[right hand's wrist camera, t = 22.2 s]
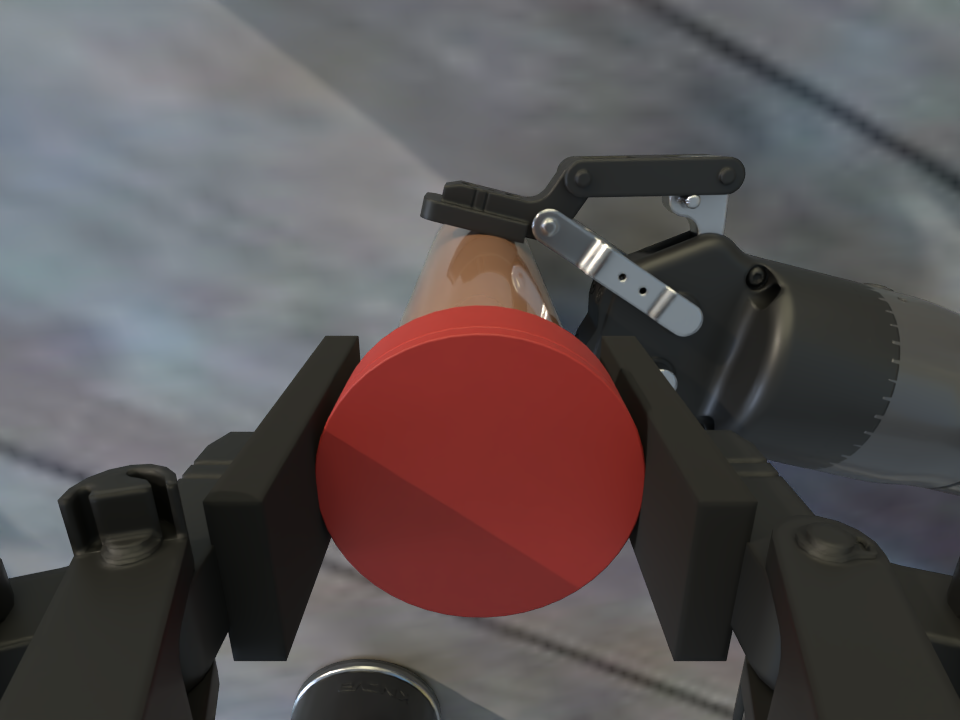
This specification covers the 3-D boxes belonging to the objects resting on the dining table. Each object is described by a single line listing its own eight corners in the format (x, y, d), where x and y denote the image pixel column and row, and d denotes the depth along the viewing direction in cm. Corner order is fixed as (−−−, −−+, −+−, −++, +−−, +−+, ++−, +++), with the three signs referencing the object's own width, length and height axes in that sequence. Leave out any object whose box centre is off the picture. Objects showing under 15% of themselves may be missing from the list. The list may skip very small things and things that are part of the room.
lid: (633, 299, 11) (659, 327, 9) (617, 556, 13) (635, 614, 11) (318, 309, 11) (290, 338, 9) (352, 563, 13) (334, 622, 11)
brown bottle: (545, 230, 28) (652, 397, 11) (507, 320, 29) (545, 593, 12) (451, 192, 27) (399, 304, 10) (417, 286, 29) (323, 523, 12)
